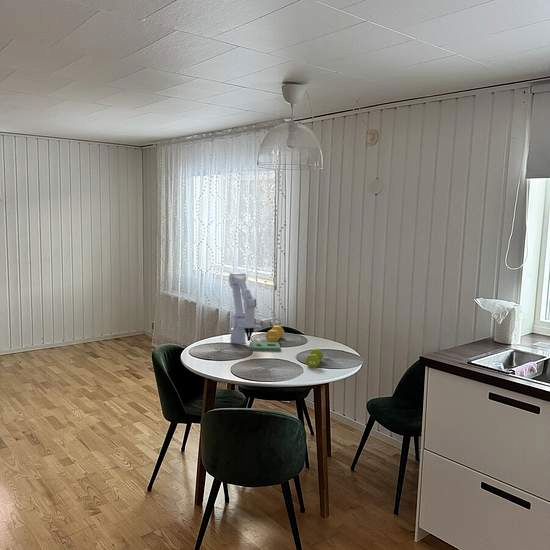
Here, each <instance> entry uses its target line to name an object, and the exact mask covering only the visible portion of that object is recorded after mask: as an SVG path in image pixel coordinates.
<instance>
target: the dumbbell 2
mask: <svg viewBox="0 0 550 550" xmlns="http://www.w3.org/2000/svg"><path fill="white" fill-rule="evenodd" d="M284 333H285V330H284V328H283V326H281V325H273V327H272V328H271V329H269V330H268V331H267V332H266V334H265V339H266V342H278V341H279V339H281V338H282V336H284Z"/></svg>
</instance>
